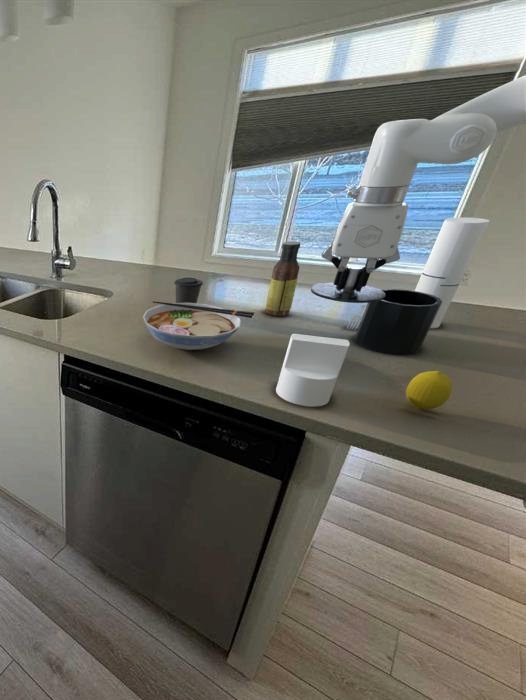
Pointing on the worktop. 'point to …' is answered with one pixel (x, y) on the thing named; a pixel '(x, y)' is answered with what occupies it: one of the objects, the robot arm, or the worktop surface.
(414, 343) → the cup
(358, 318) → the fork
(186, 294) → the coffee cup
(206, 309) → the ramen bowl
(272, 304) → the sauce bottle
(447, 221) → the cylindrical container
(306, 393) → the base with upright slab
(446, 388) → the lemon
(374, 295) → the tin lid
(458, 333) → the worktop surface
